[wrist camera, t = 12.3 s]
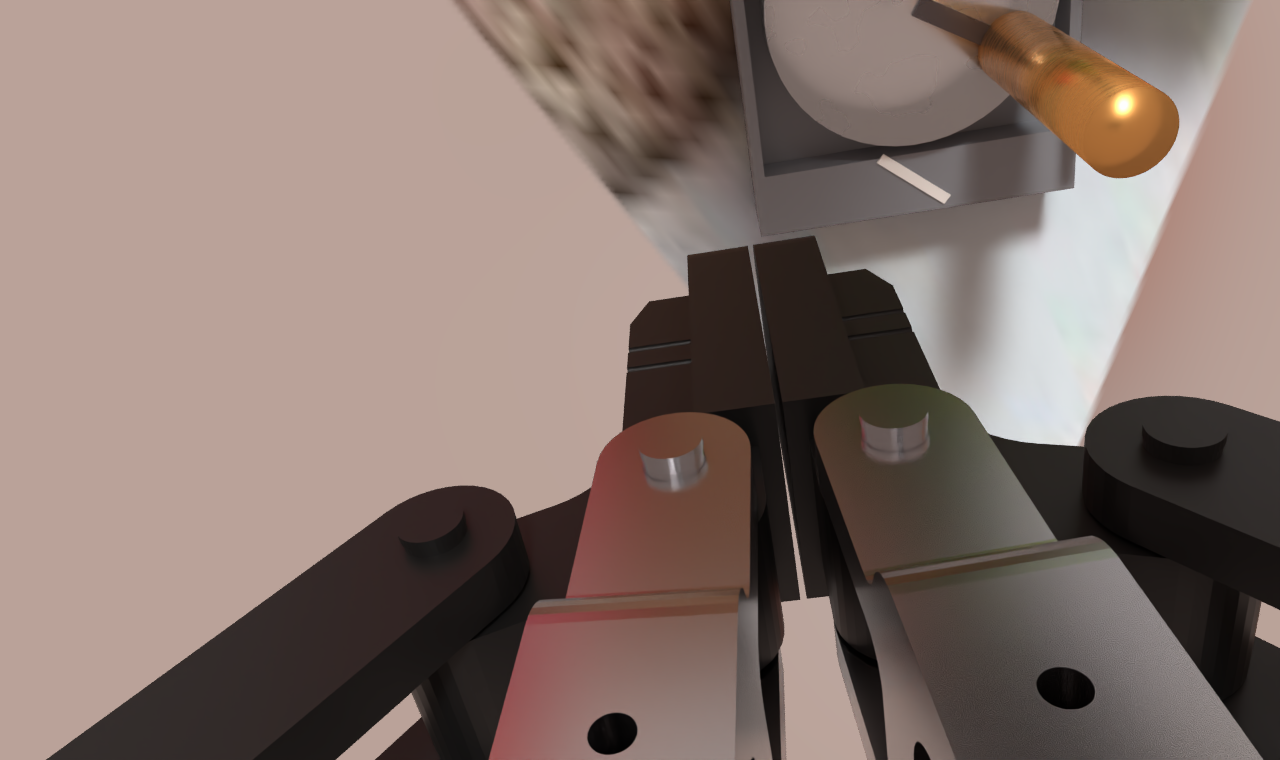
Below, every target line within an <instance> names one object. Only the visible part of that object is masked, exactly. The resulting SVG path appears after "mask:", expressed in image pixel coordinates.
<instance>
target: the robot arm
mask: <svg viewBox="0 0 1280 760" xmlns="http://www.w3.org/2000/svg"><path fill="white" fill-rule="evenodd" d="M753 251H754V259H755V267H756V275H757V283H758V291H759V298H760V306H761V314H762V321H763V329H764V337H765V343H764V337H763V332H762V326H761V320H760V314H759V308H758V303H757V297H756V291H755V285H754V280H753V274H752V268H751V262H750V256H749V251H748V246H745V247H738V248H732V249H725V250H719V251H712V252H706V253H699V254H693V255H688V256H687V260H688V286H689V296H683V297H676V298H670V299H663V300H656V301H649V303H648V304H647V305H646V306H645V307H644V309H643V310H642V311H641V312H640V313H639V315H638V316H637V317H636V318H635V319H634V321H633V322H632V323H631V324H630V336H629V353H628V364H627V370H628V373H627V377H626V390H625V404H624V417H623V431H622V432H621V433H619V434H618V435H617V436H615V437H614V438H613V439H612V440H611V441H610V442H609V443H608V444H607V445H606V446H605V447H604V449H603V451H602V452H601V453H600V456H599V459H598V461H597V465H596V469H595V473H594V478H593V482H592V486H591V488H589V489H588V490H586V491H585V492H583V493H582V494H580V495H578V496H576V497H574V498H572V499H570V500H568V501H565V502H563V503H560V504H558V505H555V506H552V507H550V508H547V509H544V510H541V511H538V512H535V513H532V514H530V515H526V516H524V517H521V518H518V519H516V516H515V513H514V509H513V507H512V505H511V504H510V502H509V501H508V500H507V499H506V498H505V497H504V496H503V495H501V494H500V493H498V492H496V491H494V490H491V489H488V488H485V487H478V486H452V487H445V488H441V489H436V490H433V491H429V492H426V493H423V494H420V495H418V496H415V497H413V498H410V499H408V500H406V501H404V502H402V503H400V504H399V505H397V506H395V507H394V508H393V509H391V510H389V511H388V512H386V513H385V514H383V515H382V516H381V517H379V518H378V519H377V520H375V521H374V522H372V523H371V524H370V525H368V526H367V527H366V528H364V529H363V530H362V531H360V532H359V533H357V534H356V535H355V536H353V537H352V538H350V539H349V540H348V541H346V542H345V543H344V544H342V545H341V546H339V547H338V548H337V549H335V550H334V551H333V552H331V553H330V554H328V555H327V556H326V557H324V558H323V559H322V560H320V561H319V562H317V563H316V564H315V565H313V566H312V567H311V568H309V569H308V570H306V571H305V572H304V573H302V574H301V575H299V576H298V577H297V578H295V579H294V580H293V581H291V582H290V583H288V584H287V585H286V586H284V587H283V588H282V589H280V590H279V591H277V592H276V593H275V594H273V595H272V596H271V597H269V598H268V599H266V600H265V601H264V602H262V603H261V604H260V605H258V606H257V607H255V608H254V609H253V610H251V611H250V612H249V613H247V614H246V615H245V616H243V617H242V618H240V619H239V620H238V621H236V622H235V623H234V624H232V625H231V626H229V627H228V628H227V629H225V630H224V631H223V632H221V633H220V634H218V635H217V636H216V637H215V638H213V639H211V640H210V641H209V642H207V643H206V644H205V645H203V646H202V647H200V649H198V650H196V651H195V652H194V653H192V654H191V655H189V656H188V657H187V658H185V659H184V660H183V661H181V662H180V663H178V664H177V665H176V666H174V667H173V668H172V669H170V670H169V671H167V672H166V673H165V674H163V675H162V676H161V677H159V678H158V679H156V680H155V681H154V682H152V683H151V684H150V685H148V686H147V687H145V688H144V689H143V690H141V691H140V692H139V693H137V694H136V695H134V696H133V697H132V698H130V699H129V700H128V701H126V702H125V703H123V704H122V705H121V706H119V707H118V708H117V709H115V710H114V711H112V712H111V713H110V714H109V715H107V716H106V717H104V718H103V719H102V720H100V721H99V722H97V723H96V724H95V725H93V726H92V727H91V728H89V729H88V730H86V731H85V732H84V733H82V734H81V735H79V736H78V737H77V738H75V739H74V740H73V741H71V742H70V743H68V744H67V745H66V746H64V747H63V748H62V749H61V750H59V751H57V752H56V753H55V754H53V755H52V756H51V757H49V758H48V759H46V760H336V759H337V758H338V757H339V756H340V755H341V754H342V753H344V752H345V751H346V750H347V749H348V748H349V747H350V746H352V745H353V744H354V743H355V742H356V741H357V740H358V739H359V738H361V737H362V736H363V735H364V734H365V733H366V732H367V731H368V730H369V729H371V728H372V727H373V726H374V725H375V724H376V723H377V722H379V721H380V720H381V719H382V718H383V717H384V716H385V715H387V714H388V713H389V712H390V711H391V710H392V709H393V708H394V707H395V706H396V705H398V704H399V703H400V702H401V701H402V700H403V699H404V698H406V697H407V696H408V695H409V694H410V693H412V695H413V697H414V700H415V702H416V704H417V707H418V709H419V712H420V714H421V716H422V717H421V718H420V719H419V720H418V721H417V722H416V723H415V724H414V725H413V726H411V727H410V728H409V729H408V730H407V731H406V732H405V733H404V734H403V735H402V736H400V737H399V738H398V739H397V740H396V741H395V742H394V743H393V744H392V745H391V746H390V747H388V748H387V749H386V750H385V751H384V752H383V753H382V754H381V755H380V756H379V757H377V758H376V759H375V760H786V738H785V704H784V674H783V673H784V672H783V665H782V657H781V651H780V647H781V645H782V642H783V637H784V622H783V614H782V606H781V602H784V601H793V600H800V594H799V587H798V580H797V571H796V563H795V555H794V548H793V540H792V532H791V524H790V517H789V509H788V501H787V493H786V485H785V478H784V470H783V463H782V455H783V461H784V467H785V473H786V479H787V484H788V490H789V496H790V502H791V508H792V514H793V520H794V526H795V531H796V537H797V543H798V549H799V555H800V560H801V566H802V572H803V578H804V584H805V590H806V596H807V598H816V597H825V596H829V598H830V603H831V608H832V613H833V618H834V628H835V637H836V646H837V655H838V661H839V666H840V669H841V673H842V676H843V679H844V683H845V686H846V689H847V693H848V696H849V699H850V703H851V706H852V710H853V713H854V716H855V720H856V723H857V726H858V730H859V733H860V736H861V740H862V743H863V746H864V750H865V753H866V757H867V760H1280V648H1278V647H1276V646H1274V645H1272V644H1270V643H1268V642H1266V641H1264V640H1262V639H1260V638H1258V637H1256V636H1255V633H1256V628H1257V622H1258V617H1259V612H1260V606H1261V601H1262V602H1264V603H1266V604H1268V605H1271V606H1273V607H1275V608H1277V609H1279V610H1280V422H1279V421H1276V420H1273V419H1269V418H1267V417H1264V416H1260V415H1257V414H1254V413H1251V412H1248V411H1245V410H1242V409H1239V408H1236V407H1233V406H1230V405H1226V404H1223V403H1219V402H1215V401H1211V400H1205V399H1200V398H1193V397H1183V396H1155V397H1145V398H1139V399H1133V400H1130V401H1126V402H1122V403H1119V404H1117V405H1114V406H1112V407H1109V408H1108V409H1106V410H1104V411H1103V412H1101V413H1099V414H1098V415H1097V416H1096V417H1095V418H1094V419H1093V420H1092V421H1091V423H1090V424H1089V426H1088V427H1087V430H1086V434H1085V443H1084V447H1081V446H1065V445H1050V444H1036V443H1026V442H1019V441H1013V440H1008V439H1004V438H1000V437H997V436H993V435H990V434H988V433H987V431H986V430H985V428H984V427H983V425H982V424H981V422H980V421H979V419H978V418H977V416H976V414H975V413H974V412H973V410H972V409H971V408H970V407H969V406H968V405H967V404H966V403H965V402H963V401H962V400H961V399H959V398H958V397H956V396H954V395H952V394H950V393H947V392H945V391H942V390H940V388H939V386H938V384H937V382H936V380H935V377H934V375H933V373H932V371H931V369H930V366H929V364H928V362H927V360H926V358H925V355H924V353H923V351H922V349H921V347H920V344H919V342H918V340H917V338H916V336H915V333H914V332H912V327H911V325H910V322H909V320H908V318H907V316H906V314H905V313H904V312H903V307H902V305H901V303H900V300H899V298H898V296H897V294H896V292H895V289H894V287H893V285H891V284H889V283H888V282H886V281H884V280H883V279H881V278H880V277H878V276H876V275H875V274H873V273H871V272H870V271H868V270H867V269H862V270H855V271H848V272H842V273H835V274H828V275H827V272H826V269H825V266H824V263H823V260H822V257H821V253H820V250H819V247H818V244H817V241H816V238H815V236H808V237H802V238H795V239H789V240H782V241H776V242H769V243H763V244H757V245H753ZM765 344H766V349H765ZM766 352H767V355H766ZM767 360H768V361H767ZM779 438H780V439H779ZM780 444H781V447H780ZM781 449H782V455H781Z"/></svg>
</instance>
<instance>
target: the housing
mask: <svg viewBox="0 0 1280 760" xmlns="http://www.w3.org/2000/svg"><path fill="white" fill-rule="evenodd" d="M1082 6H1083V0H1059V4H1058V8H1057V13H1056V17H1055V21H1054V23H1053V26H1054V27H1056V28H1057V29H1059V30H1061V31H1062V32H1064V33H1065V34H1067V35H1069V36H1070V37H1072V38H1074V39H1075V40H1077V41H1079V42H1080V43H1081V27H1082ZM730 7H731V15H732V23H733V31H734V39H735V47H736V55H737V63H738V71H739V79H740V87H741V94H742V102H743V110H744V118H745V126H746V134H747V142H748V150H749V158H750V166H751V174H752V182H753V190H754V198H755V206H756V212H757V217H758V222H759V226H760V231H761V236H768V235H775V234H781V233H788V232H794V231H800V230H807V229H813V228H820V227H826V226H833V225H839V224H845V223H852V222H858V221H865V220H871V219H878V218H884V217H891V216H897V215H903V214H910V213H916V212H923V211H929V210H936V209H942V208H948V207H955V206H961V205H968V204H974V203H981V202H987V201H993V200H1000V199H1006V198H1013V197H1019V196H1026V195H1032V194H1039V193H1045V192H1051V191H1058V190H1064V189H1071V188H1074V179H1075V157H1076V153H1075V152H1074V151H1073V150H1072V149H1071V148H1069V147H1068V146H1067V145H1066V144H1065V143H1064V142H1063V141H1062V140H1060V139H1059V138H1058V137H1057V136H1056V135H1055V134H1054V133H1052V132H1051V131H1050V130H1049V129H1048V128H1047V127H1046V126H1045V125H1043V124H1042V123H1041V122H1040V121H1039V120H1038V119H1037V118H1035V117H1034V116H1033V115H1032V114H1031V113H1030V112H1029V111H1028V110H1026V109H1025V108H1024V107H1023V106H1022V105H1021V104H1020V103H1018V102H1017V101H1016V100H1015V99H1014V98H1013V97H1012V96H1011V95H1009V96H1008V97H1007V98H1006V99H1005V100H1004V101H1003V102H1002V103H1001V104H1000V105H998V106H997V107H996V108H995V109H993V110H992V111H991V112H989V113H988V114H987V115H986V116H984V117H983V118H981V119H980V120H978V121H976V122H975V123H973V124H971V125H970V126H968V127H966V128H964V129H962V130H960V131H958V132H956V133H954V134H951V135H949V136H946V137H943V138H940V139H937V140H934V141H931V142H926V143H921V144H916V145H907V146H878V145H872V144H867V143H861V142H858V141H855V140H852V139H849V138H846V137H843V136H841V135H839V134H837V133H835V132H833V131H831V130H829V129H827V128H826V127H824V126H823V125H821V124H820V123H818V122H817V121H815V120H814V119H813V118H812V117H811V116H810V115H808V114H807V113H806V112H805V111H804V110H803V109H802V108H801V107H800V106H799V105H798V103H797V102H796V101H795V100H794V99H793V97H792V96H791V95H790V93H789V92H788V90H787V89H786V87H785V85H784V84H783V82H782V81H781V79H780V76H779V74H778V72H777V70H776V67H775V65H774V63H773V60H772V58H771V55H770V52H769V50H768V46H767V43H766V39H765V36H764V32H763V26H762V19H761V2H760V0H730Z"/></svg>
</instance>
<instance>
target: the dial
mask: <svg viewBox="0 0 1280 760" xmlns="http://www.w3.org/2000/svg"><path fill="white" fill-rule="evenodd" d="M760 2H761V19H762V26H763V32H764V36H765V39H766V43H767V46H768V50H769V52H770V55H771V58H772V60H773V63H774V65H775V67H776V70H777V72H778V74H779V76H780V79H781V81H782V82H783V84H784V85H785V87H786V89H787V90H788V92H789V93H790V95H791V96H792V97H793V99H794V100H795V101H796V102H797V103H798V105H799V106H800V107H801V108H802V109H803V110H804V111H805V112H806V113H807V114H808V115H810V116H811V117H812V118H813V119H814V120H815V121H817V122H818V123H820V124H821V125H823V126H824V127H826V128H827V129H829V130H831V131H833V132H835V133H837V134H839V135H841V136H843V137H846V138H849V139H852V140H855V141H858V142H861V143H867V144H872V145H878V146H907V145H916V144H921V143H926V142H931V141H934V140H937V139H940V138H943V137H946V136H949V135H951V134H954V133H956V132H958V131H960V130H962V129H964V128H966V127H968V126H970V125H971V124H973V123H975V122H976V121H978V120H980V119H981V118H983V117H984V116H986V115H987V114H988V113H989V112H991V111H992V110H993V109H995V108H996V107H997V106H998V105H1000V104H1001V103H1002V102H1003V101H1004V100H1005V99H1006V98H1007V97H1008V96H1009V95H1011V96H1012V97H1013V98H1014V99H1015V100H1016V101H1017V102H1018V103H1020V104H1021V105H1022V106H1023V107H1024V108H1025V109H1026V110H1028V111H1029V112H1030V113H1031V114H1032V115H1033V116H1034V117H1035V118H1037V119H1038V120H1039V121H1040V122H1041V123H1042V124H1043V125H1045V126H1046V127H1047V128H1048V129H1049V130H1050V131H1051V132H1052V133H1054V134H1055V135H1056V136H1057V137H1058V138H1059V139H1060V140H1062V141H1063V142H1064V143H1065V144H1066V145H1067V146H1068V147H1069V148H1071V149H1072V150H1073V151H1074V152H1075V153H1076V154H1077V155H1079V156H1080V157H1081V158H1082V159H1083V160H1084V161H1085V162H1086V163H1088V164H1089V165H1090V166H1091V167H1092V168H1093V169H1094V170H1096V171H1097V172H1099V173H1100V174H1102V175H1105V176H1108V177H1112V178H1128V177H1133V176H1136V175H1139V174H1141V173H1144V172H1146V171H1148V170H1149V169H1151V168H1152V167H1154V166H1155V165H1157V164H1158V163H1159V162H1160V161H1161V160H1162V159H1163V158H1164V157H1165V156H1166V155H1167V153H1168V152H1169V151H1170V149H1171V147H1172V146H1173V144H1174V142H1175V140H1176V137H1177V134H1178V129H1179V115H1178V111H1177V108H1176V106H1175V104H1174V102H1173V101H1172V100H1171V99H1170V97H1169V96H1167V95H1166V94H1165V93H1163V92H1162V91H1160V90H1158V89H1157V88H1155V87H1153V86H1152V85H1150V84H1148V83H1147V82H1145V81H1143V80H1142V79H1140V78H1138V77H1137V76H1135V75H1133V74H1132V73H1130V72H1128V71H1127V70H1125V69H1124V68H1122V67H1120V66H1119V65H1117V64H1115V63H1114V62H1112V61H1110V60H1109V59H1107V58H1105V57H1104V56H1102V55H1100V54H1099V53H1097V52H1095V51H1094V50H1092V49H1090V48H1089V47H1087V46H1085V45H1084V44H1082V43H1080V42H1079V41H1077V40H1075V39H1074V38H1072V37H1070V36H1069V35H1067V34H1065V33H1064V32H1062V31H1061V30H1059V29H1057V28H1056V27H1054V26H1053V23H1054V21H1055V17H1056V13H1057V8H1058V4H1059V0H760Z"/></svg>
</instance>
